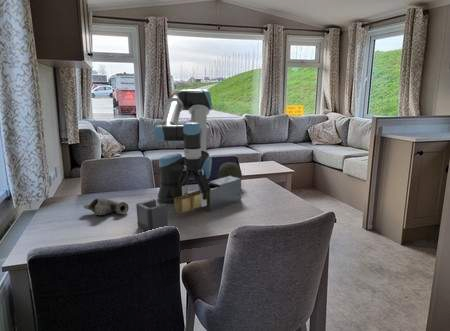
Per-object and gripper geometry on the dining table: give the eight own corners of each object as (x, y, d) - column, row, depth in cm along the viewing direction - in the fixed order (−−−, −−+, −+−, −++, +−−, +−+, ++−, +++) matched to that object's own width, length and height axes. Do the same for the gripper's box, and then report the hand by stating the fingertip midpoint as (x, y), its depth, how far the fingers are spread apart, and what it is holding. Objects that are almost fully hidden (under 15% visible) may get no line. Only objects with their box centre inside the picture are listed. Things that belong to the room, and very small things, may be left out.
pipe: (108, 225, 158) (79, 218, 147) (109, 209, 162) (82, 200, 152) (130, 214, 150) (101, 206, 139) (130, 197, 155) (103, 187, 144)
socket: (138, 227, 137) (136, 204, 134) (155, 221, 142) (153, 198, 140) (150, 234, 130) (148, 210, 128) (167, 228, 136) (166, 204, 133)
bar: (173, 210, 146) (172, 196, 145) (224, 193, 168) (224, 181, 167) (182, 214, 142) (181, 200, 140) (233, 196, 164) (233, 184, 162)
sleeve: (199, 207, 159) (199, 184, 156) (230, 196, 173) (230, 175, 170) (210, 211, 153) (210, 187, 150) (241, 200, 167) (241, 178, 164)
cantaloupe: (247, 187, 188) (247, 162, 185) (230, 193, 178) (230, 167, 175) (229, 182, 198) (229, 158, 194) (212, 188, 188) (212, 162, 184)
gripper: (169, 154, 151) (171, 198, 156) (204, 163, 134) (205, 211, 139) (182, 152, 156) (184, 194, 161) (217, 160, 139) (218, 207, 144)
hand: (194, 202), depth 150 cm, fingers open, 13 cm apart
